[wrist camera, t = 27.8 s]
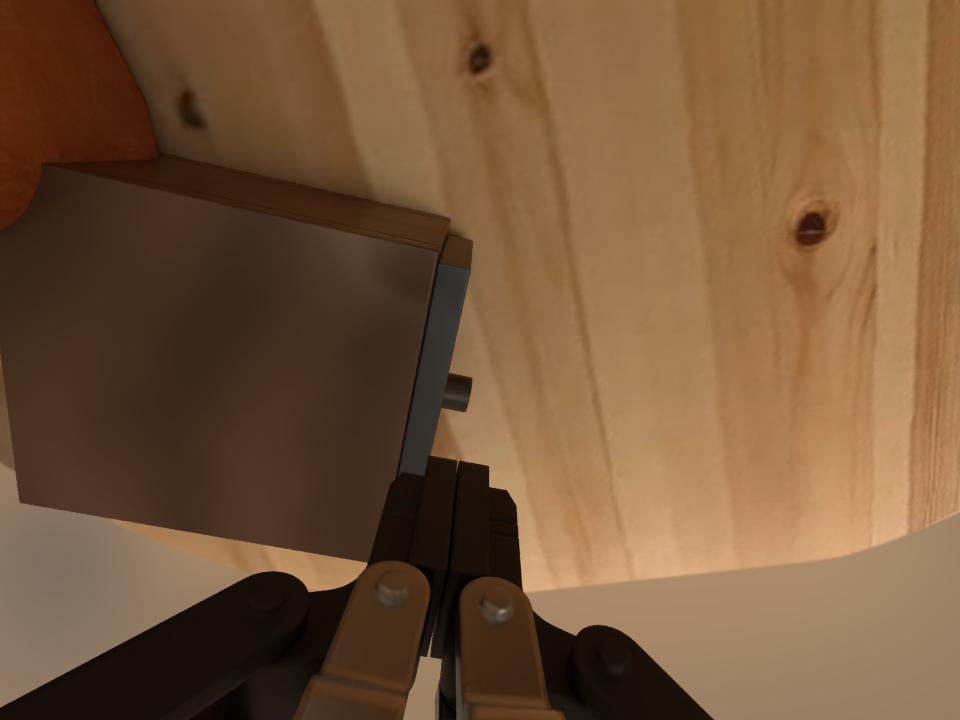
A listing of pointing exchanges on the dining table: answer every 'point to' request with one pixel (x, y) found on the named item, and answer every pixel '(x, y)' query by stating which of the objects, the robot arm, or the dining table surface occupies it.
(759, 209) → the dining table surface
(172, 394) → the cabinet
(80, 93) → the bread
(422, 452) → the drawer
